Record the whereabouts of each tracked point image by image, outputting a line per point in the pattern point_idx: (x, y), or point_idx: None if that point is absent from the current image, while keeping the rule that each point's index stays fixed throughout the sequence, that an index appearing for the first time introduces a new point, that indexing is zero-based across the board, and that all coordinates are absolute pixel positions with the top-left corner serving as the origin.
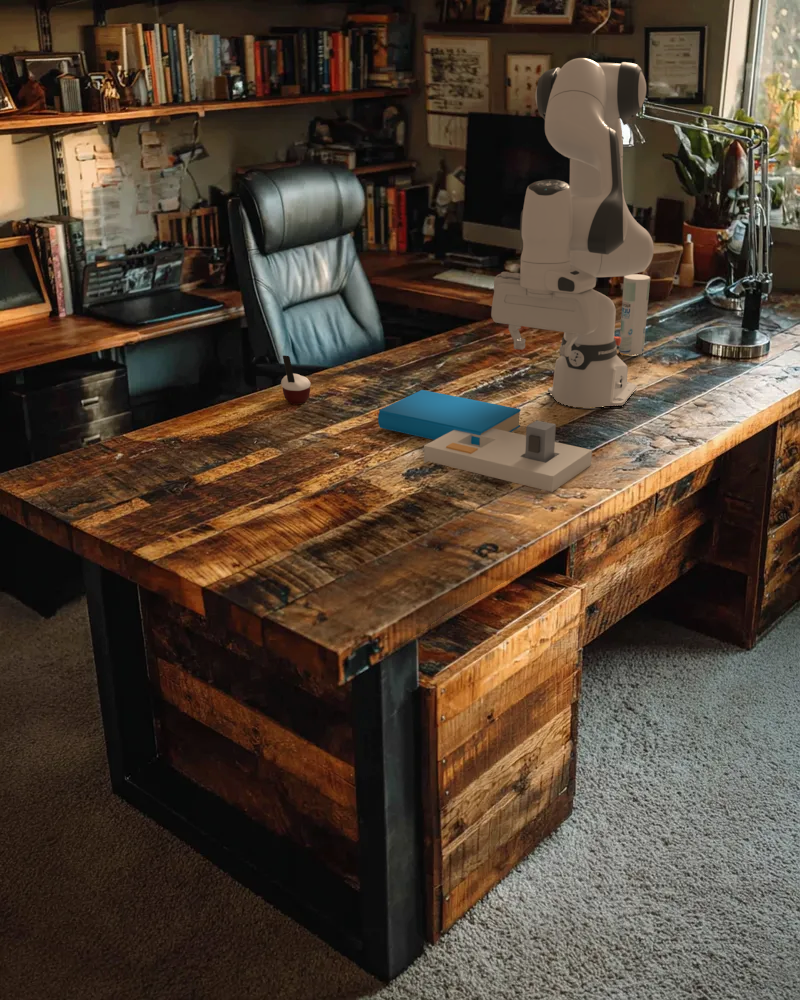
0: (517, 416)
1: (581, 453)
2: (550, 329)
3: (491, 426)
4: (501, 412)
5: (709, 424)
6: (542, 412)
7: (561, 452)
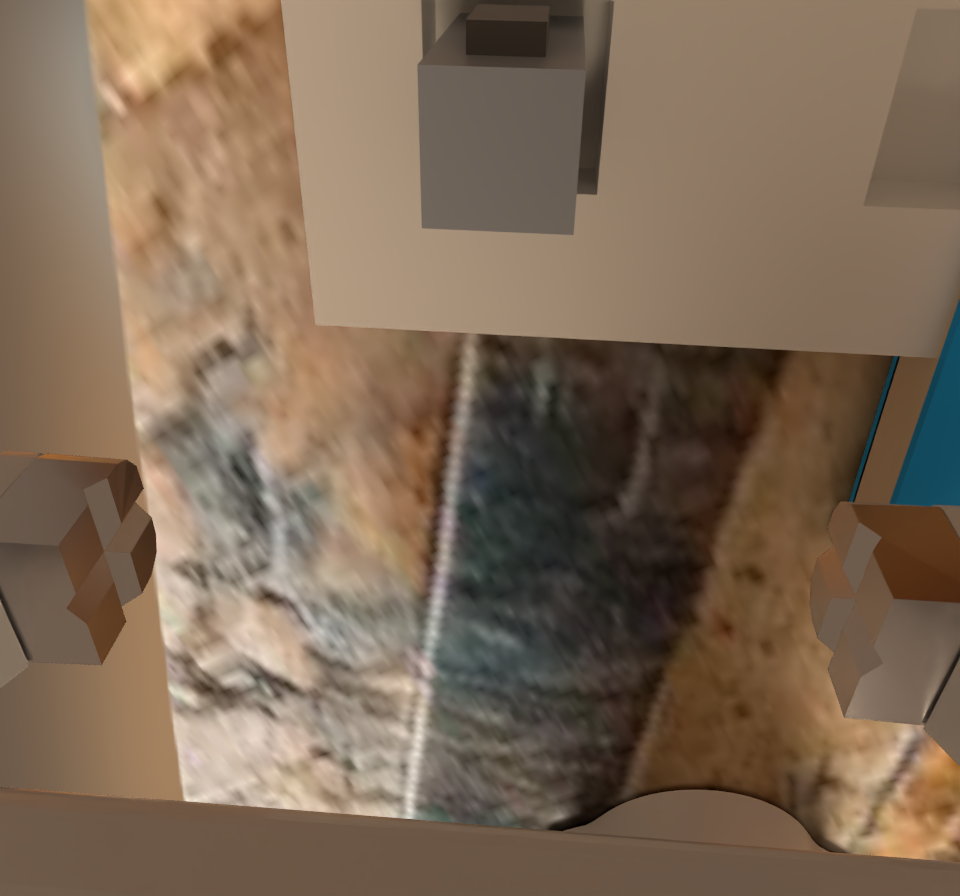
0: None
1: (332, 253)
2: (38, 797)
3: (946, 348)
4: None
5: None
6: (802, 723)
7: None
